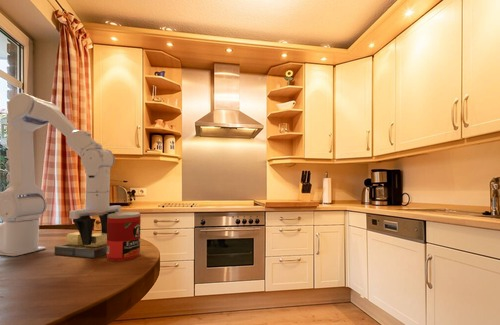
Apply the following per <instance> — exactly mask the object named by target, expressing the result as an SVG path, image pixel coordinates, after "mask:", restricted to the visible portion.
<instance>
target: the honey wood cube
mask: <svg viewBox="0 0 500 325" xmlns="http://www.w3.org/2000/svg"><path fill="white" fill-rule="evenodd" d="M106 245H107V233H102V232H95V233H92V241H91V245H84V248H94V249H96V248H99V247H103V246H106Z"/></svg>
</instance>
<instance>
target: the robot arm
mask: <svg viewBox="0 0 500 325" xmlns="http://www.w3.org/2000/svg"><path fill="white" fill-rule="evenodd" d="M7 118H8V122H7V127H6V128H7V142H8V143H7V144H8V146H7V147H8V163H9V164H8V165H9V166H8V167H9V168H8V169H9V184H10V185H9V187H8V188H6V189H5V190H3V191H1V193H0V219H1V220H2V223H1V224H0V256H9V257H17V256H22V255H25V254H30V253H33V252H39V251H42V250H45V249H47V247H46V246H40V245H39V236H40V232H39V231H40V218H42V216H43V214H44V213H45V212H46V210H47V208H48V202H47V199H46V198H45V196H44V195H45V194H44V190H43V189H42V188H40V187H39V186H38V185H37V184H36V183H37V182H36V171H35V170H36V168H35V167H36V166H35V153H34V152H35V149H34V132H35V131H36V130H38V129H41V128H42V127H44V126H46V125H48V124H49V123H50V125H52V126H53V127H54V128H55V129H56V130H57V131H59V132H60V133H61V134H62V135H64V136H65V137H66V140H65V142H66V144H67V145H68V146H69V147H70V149H71V150H73V151H74V152H75V153H76V154H77V155H78V156H79V157H80V158H81V159H80V162H81V165H82V166H83V167H84V173H85V175H86V176H85V178H86V179H85V202H84V203H85V206H84V208H81V209H75V210H74V209H73V210H69V217H68V218H69V219H70V220H72V222H73V224H74V225H75V227H76V228H77V230H78V231H77V232H79V233H80V236H81V239H82V243H83V245H91V241H92V234H93V230H94V225H95V222H96V220H97V219H96V218H92V217H93V216H98V217H99V220H100V227H101V233H107V217H108V215H109V214H112V213H120V212H122V211H121V210H122V206H121V205H110V191H111V190H110V188H111V168H113V166H114V164H115V162H116V161H115V160H116V158H115V155H114V153H113V152H112V150H109V149H104V148H103V145H102V144H101V143H98V142H97V141H96V140H95V139H94V138H93V137H92V133H90V132H89V131H86V130H83V129H77V127H76V126H75V125H74V124H73V122H71V121H70V120H69V119H68V118H67V116H65V114H63V112H62V111H61V108H60V107H58V106H57V105H56V104H55V103H53V102H51V101H47V100H43V99H41V98H38V97H35V96H33V95H29V94H27V93H25V92H19V93H16V94H15V95H14V96H12V97H11V98H10V99H9V100H8V102H7Z"/></svg>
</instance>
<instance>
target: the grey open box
mask: <svg viewBox="0 0 500 325" xmlns="http://www.w3.org/2000/svg"><path fill="white" fill-rule="evenodd" d="M54 255H61V256H70V257H80V258H89V259H96V258H99V257H102V256H105V255H107V245H106V246H103V247H99V248H96V249H94V248H84V245H83V243H82V239H81V236H80V233H79V231H75V232H70V233H66V243H63V244H59V245H56V246H54Z"/></svg>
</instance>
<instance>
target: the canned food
mask: <svg viewBox="0 0 500 325" xmlns="http://www.w3.org/2000/svg"><path fill="white" fill-rule="evenodd" d="M141 221H142V220H141V212H139V211H121V212H115V213H112V214H109V215H108V217H107V254H106V257H107V260H108V261H111V262H123V261H124V262H125V261H129V260H130V261H131V260H133V259H136V258H137V257H139V256H140V253H141V223H142V222H141Z"/></svg>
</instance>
